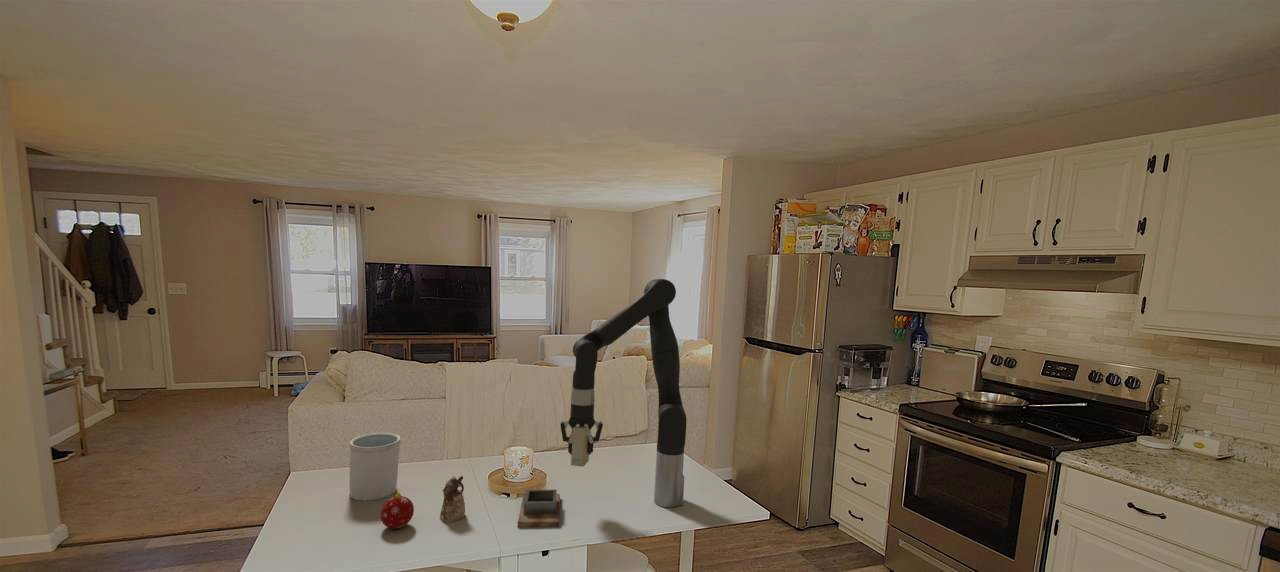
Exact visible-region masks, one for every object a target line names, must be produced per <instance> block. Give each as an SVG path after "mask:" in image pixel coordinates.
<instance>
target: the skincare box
mask: <svg viewBox="0 0 1280 572" xmlns="http://www.w3.org/2000/svg"><path fill="white" fill-rule="evenodd" d="M587 431H588V430H587V428H584V427H579V428H577V427H573V437H572V455H570V456H571V457H570V459H571V460H570V466H573V467H575V466H576V467H585V466H586V465H587V463H589V460H590V455H589V454H588V450H589V438H588V436H587Z"/></svg>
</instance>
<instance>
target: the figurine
mask: <svg viewBox="0 0 1280 572" xmlns="http://www.w3.org/2000/svg"><path fill="white" fill-rule="evenodd" d="M463 479H464V476H463V475H461V476H459V478H456V477H455V476H451V477H450V478H449V479H447V481H446V483H445V487H444V488H443V489H442V493H443V502H442V505H441V509H440V515H439V520H440V521H442V522H444V521H445V522H444V523H452V522H453V521H454V522H457V521H459V520H462V519H463V518H464V517H465V515H466V514H465V513H466V503H465V498H464V494H463V493H464V490H465V487H464V484H463V482H462V481H463ZM458 488H461V489H460V490H459V489H458Z"/></svg>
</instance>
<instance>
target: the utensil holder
mask: <svg viewBox="0 0 1280 572" xmlns="http://www.w3.org/2000/svg"><path fill="white" fill-rule="evenodd" d="M401 440H402V439H401V436H400V435H399V434H396V433H393V432H373V433H366V434H362V435H359V436H355V437H354V438H352V439H351V440H350V441H349V448H350V449H349V450H350V453H349V497H350V498H351V499H353V500H356V501H362V502H363V501H364V502H365V501H367V502H368V501H376V500H381V499H384V498H387V497H389V496H391V495H392V494H394V493H395V492H396V491H397V486H398V485H397V484H398V483H397V482H398V473H399V456H400V455H399V454H400V444H401Z"/></svg>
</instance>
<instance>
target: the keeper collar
mask: <svg viewBox="0 0 1280 572" xmlns="http://www.w3.org/2000/svg"><path fill="white" fill-rule="evenodd" d="M525 491H526V492H525V494H526V495H525V500H524V512H523V515H529V514H556V495H557V494H558V493H557V492H558V491H557V489H526V490H525Z"/></svg>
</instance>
